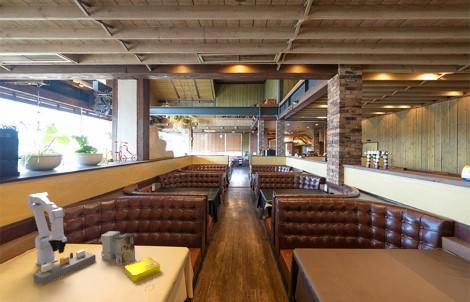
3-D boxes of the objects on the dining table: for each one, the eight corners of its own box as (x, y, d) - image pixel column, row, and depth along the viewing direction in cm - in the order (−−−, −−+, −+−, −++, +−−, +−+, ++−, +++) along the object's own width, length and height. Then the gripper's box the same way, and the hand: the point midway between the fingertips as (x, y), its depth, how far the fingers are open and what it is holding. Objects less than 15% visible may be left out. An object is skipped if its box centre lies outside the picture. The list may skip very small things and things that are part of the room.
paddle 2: (76, 257, 144) (75, 252, 144) (82, 254, 147) (82, 249, 147) (78, 257, 142) (78, 252, 142) (85, 254, 146) (85, 250, 146)
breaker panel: (33, 281, 125) (33, 274, 125) (86, 258, 150) (86, 252, 150) (42, 285, 121) (42, 277, 121) (95, 261, 147) (95, 254, 146)
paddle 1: (41, 271, 127) (41, 265, 127) (49, 267, 131) (49, 262, 131) (43, 272, 126) (43, 266, 126) (52, 268, 130) (52, 263, 130)
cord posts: (43, 272, 133) (42, 263, 133) (72, 260, 147) (72, 252, 147) (44, 273, 132) (44, 264, 132) (73, 260, 146) (73, 252, 146)
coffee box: (129, 257, 150) (128, 232, 150) (135, 259, 147) (134, 234, 147) (115, 263, 142) (114, 237, 142) (121, 266, 139) (120, 239, 139)
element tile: (149, 263, 142) (149, 255, 142) (161, 272, 131) (161, 263, 131) (123, 273, 131) (123, 265, 131) (134, 284, 121) (134, 274, 121)
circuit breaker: (121, 260, 147) (120, 236, 146) (101, 258, 150) (100, 235, 149) (129, 254, 154) (128, 232, 154) (110, 253, 157) (109, 231, 157)
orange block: (59, 263, 135) (59, 258, 135) (67, 260, 139) (67, 255, 139) (62, 264, 134) (62, 259, 134) (69, 261, 138) (69, 256, 138)
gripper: (42, 229, 139) (43, 252, 139) (56, 233, 132) (57, 257, 133) (56, 226, 145) (57, 247, 145) (70, 229, 139) (71, 251, 139)
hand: (58, 252), depth 139 cm, fingers open, 6 cm apart
